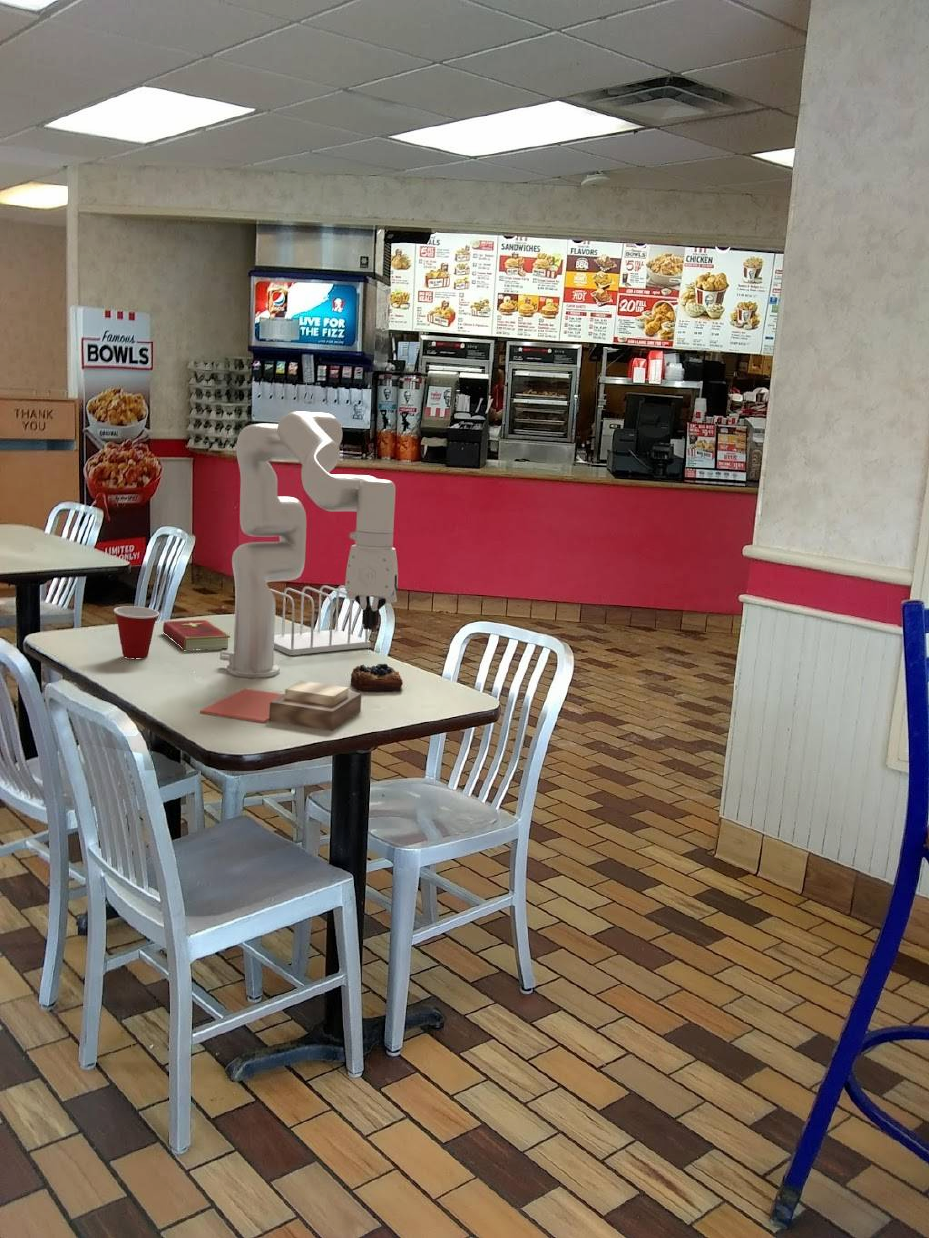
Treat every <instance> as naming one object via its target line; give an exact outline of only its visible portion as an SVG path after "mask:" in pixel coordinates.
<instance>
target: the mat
mask: <svg viewBox="0 0 929 1238" xmlns="http://www.w3.org/2000/svg"><path fill="white" fill-rule="evenodd" d="M284 694H285V693H284ZM284 694H283V693H277V692H270V691H264V690H258V689H250V688H243V689H241V690H239V691H237V692H235V693H233V694H230V695H229V696H227V697H225V698H223V699H221V700H218V701H217V702H215V703H212V704H211V705H208V706H207V707H204V708H202V709H200V711H199V714H205V715H206V714H207V715H213V716H219V717H224V716H226V717H225V718H230V717H232V718H231V719H235V720H236V719H238V720H242V721H243V720H244V721H249V722H257V723H261V722H265V723H266V722H269V712H270V702H271V701H273V700H274V699H276V698H278V697H280V696H282V695H284Z"/></svg>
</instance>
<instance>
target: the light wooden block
mask: <svg viewBox="0 0 929 1238" xmlns="http://www.w3.org/2000/svg"><path fill="white" fill-rule="evenodd" d="M348 691H349V687H348V686H347V687H346V686H339V685H333V684H326V683H319V682H312V681H308V680H306V681H305V680H300V681H298V682H296V683H294V684H292V685H291V686H289V687H286V688H285V690H284V694H285V698H286V699H292V700H299V701H305V702H312V703H318V704H325V705H332V706H334V705H335V704H337V703H339V702H340V701H342V700H343V699H345V698H347V697H348Z"/></svg>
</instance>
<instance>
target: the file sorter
mask: <svg viewBox="0 0 929 1238" xmlns="http://www.w3.org/2000/svg"><path fill="white" fill-rule="evenodd" d="M341 588H342V589H345V585H341V584H340V585H339V586H338V587H337V588H335V587H332V586H329V585H325V584H324V585H322V586H321V587H320V588H319V589H316V588H313V587H311V586H304V587H303V588H302V590H301V591H299V590H296V589H294V588H291V587H286V588H285V589H284V592H280V591H278V590H275V589H273V588H269V589H270V590H271V592H272V593H273V594H277V595H279V596H282V597H283V598H282V599H283V600H282V601H283V602H282V622H281V624H282V625H281V634H275V635H274V650H276V651H279V652H281V653H284V654H286V655H288V656H291V655H293V656H302V655H308V654H318V653H327V652H335V651H345V650H354V649H355V650H356V649H359V650H360V649H367V648H371V641H370V640H369V639H368V638H369V637H368V636H369V635H368V634H369V633H368V632H369V629H364V632H365V633H364V634H365V635H364V638H363V637H361V636H357V635H355V634H352V633H351V632H352V631H351V630H352V618H353V617H352V616H353V599H350V598H348V599H349V616H348V628H347V629H348V631H343V630H341V629H338V628H339V627H338V626H339V603H340V602H339V601H340V600H339V597H340V594H342V595H345V596H346V594H347V591H343V590H341ZM323 589H326V590H327V589H328V590H331V591H335V592H336V598H335V599H336V600H335V603H336V605H335V629H333V623H334V622H333V619H334V601H333V598H332V596H331V595H330V594H328V593H327V592H324V591H323ZM306 590H310V591H312V592H314V593H318V618H317V619H318V621H317V622H318V623H317V631H314V629H315V628H314V626H315V625H314V624H315V602H314V599H313V597H312V596H311V595H309V594H307V593H305V591H306ZM288 591H291V592H293V593H296V594H298V595H301V596H300V597H301V604H300V625H299V626H300V627H299V628H300V629H299V632H297V633H295V607H296V606H295V602H294V599H293V597H292V596H291V595H290V594H287V592H288ZM323 596H325V597H327V598H328V599H329V601H330V615H329V616H330V618H329V619H330V620H329V621H330V623H329V629H327V630H321V621H322V620H321V619H322V617H321V616H322V597H323ZM305 598H308V599H309V600H310V602H311V622H310V631H306V632H303V630H304V629H303V627H304V626H303V625H304V604H305V602H304V601H305ZM286 599H289V600H290V602H291V633H285V630H286V629H285V627H286V626H285V625H286V603H287V602H286ZM301 654H302V655H301Z"/></svg>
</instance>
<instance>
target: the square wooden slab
mask: <svg viewBox="0 0 929 1238" xmlns="http://www.w3.org/2000/svg"><path fill="white" fill-rule="evenodd" d="M361 708H362V692H357V691H349V690H348V697H347V698H345V699H343V700H342V701H340V702H339V703H337V704H335V705H334V706H332V705H325V704H318V703H312V702H305V701H299V700H292V699H286V698H285V693H284V695H282V696H280V697H278V698H276V699H274V700H273V701H271V702H270V712H269V721H271V722H276V723H282V722H283V723H282V724H288V723H289V725H293V726H294V725H295V726H300V727H301V726H302V727H308V728H312V729H313V728H314V729H320V730H327V731H333V730H335V729H336V728H337V727H339V726H340V725H342V724H343V723H345V722H346V721H348V720H350V719H351V718H352V717H354V716H355V715H357V714H359V713H360V712H361V711H362V710H361ZM356 713H357V714H356ZM353 715H354V716H353ZM269 721H268V722H269Z"/></svg>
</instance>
